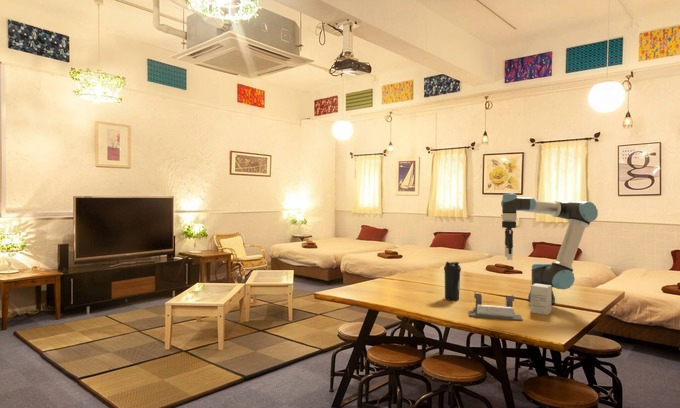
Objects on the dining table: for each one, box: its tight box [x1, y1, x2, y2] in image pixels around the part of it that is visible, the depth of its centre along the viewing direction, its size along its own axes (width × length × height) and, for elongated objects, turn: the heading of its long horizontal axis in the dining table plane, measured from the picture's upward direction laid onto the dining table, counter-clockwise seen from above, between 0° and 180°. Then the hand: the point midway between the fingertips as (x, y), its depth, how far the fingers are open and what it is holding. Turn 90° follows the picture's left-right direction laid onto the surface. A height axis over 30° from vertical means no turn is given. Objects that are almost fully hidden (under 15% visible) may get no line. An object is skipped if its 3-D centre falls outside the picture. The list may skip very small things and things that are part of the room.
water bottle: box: [443, 261, 462, 302], centre depth 272 cm, size 10×10×23 cm
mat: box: [468, 310, 524, 322], centre depth 233 cm, size 26×9×1 cm, turn 74°
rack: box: [473, 291, 515, 312], centre depth 244 cm, size 21×6×10 cm, turn 74°
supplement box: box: [529, 283, 553, 316], centre depth 243 cm, size 9×9×15 cm
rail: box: [476, 304, 515, 317], centre depth 233 cm, size 18×4×4 cm, turn 74°
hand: (508, 258), depth 249 cm, fingers open, 13 cm apart
